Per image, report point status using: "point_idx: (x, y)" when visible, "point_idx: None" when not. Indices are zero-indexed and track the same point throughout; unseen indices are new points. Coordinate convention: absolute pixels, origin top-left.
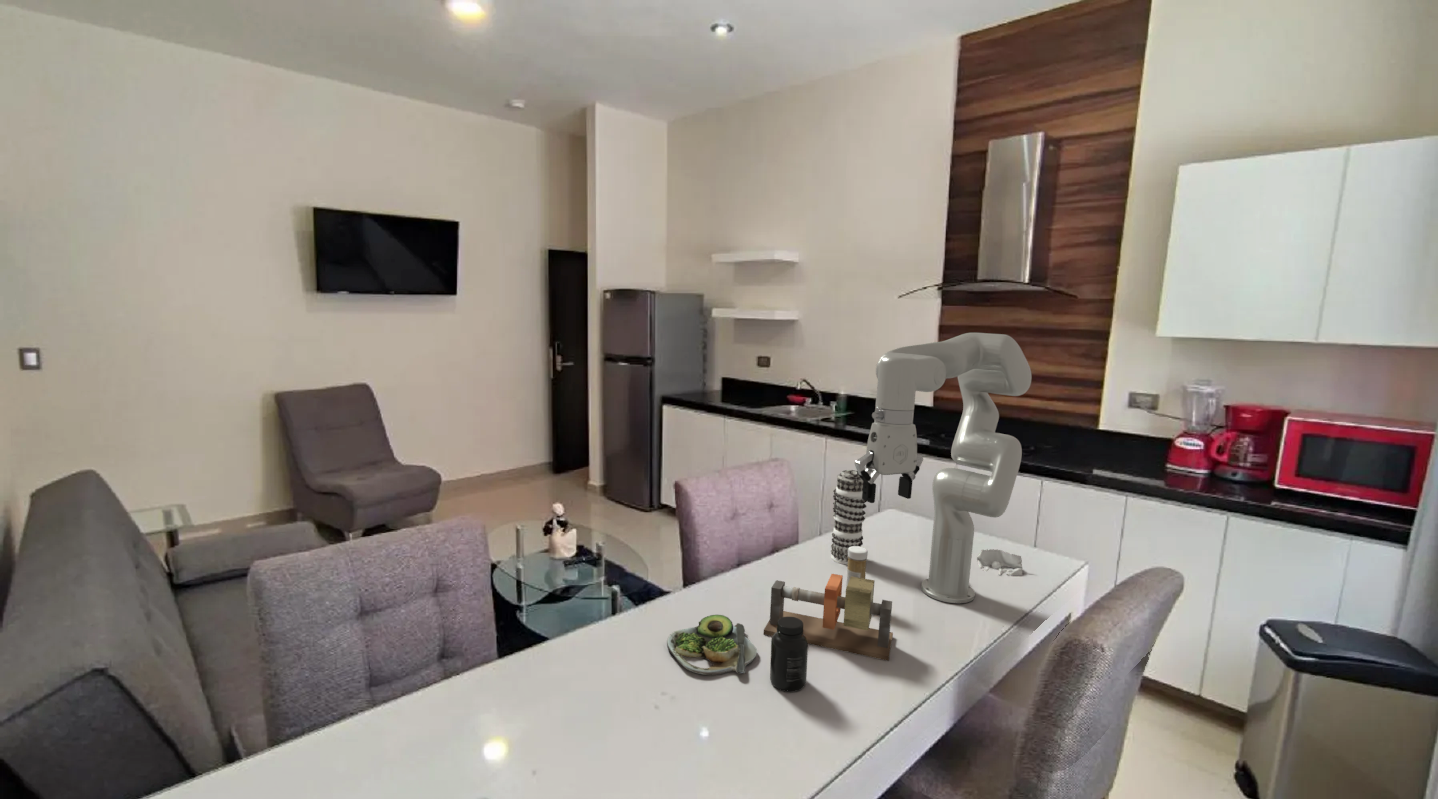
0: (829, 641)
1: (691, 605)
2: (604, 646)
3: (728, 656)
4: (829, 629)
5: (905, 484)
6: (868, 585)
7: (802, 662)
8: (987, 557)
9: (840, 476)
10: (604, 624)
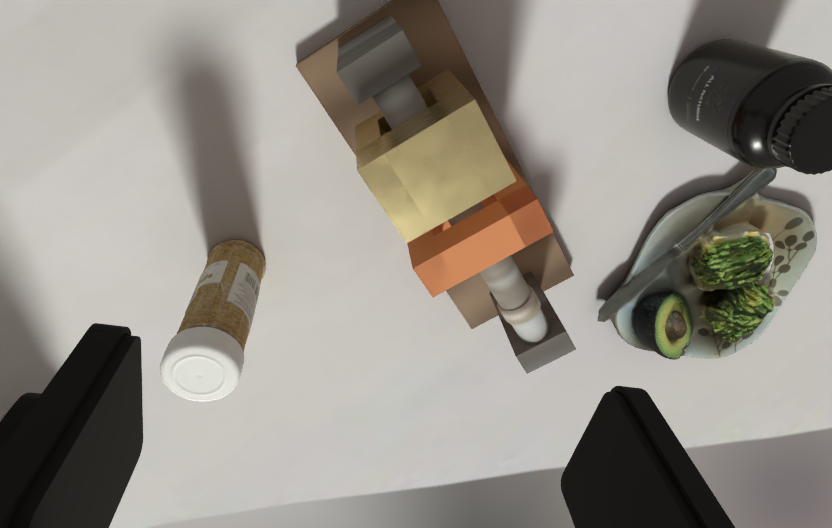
0: None
1: (583, 425)
2: (812, 382)
3: (746, 226)
4: None
5: (74, 508)
6: (418, 153)
7: (774, 51)
8: None
9: None
10: (751, 436)
